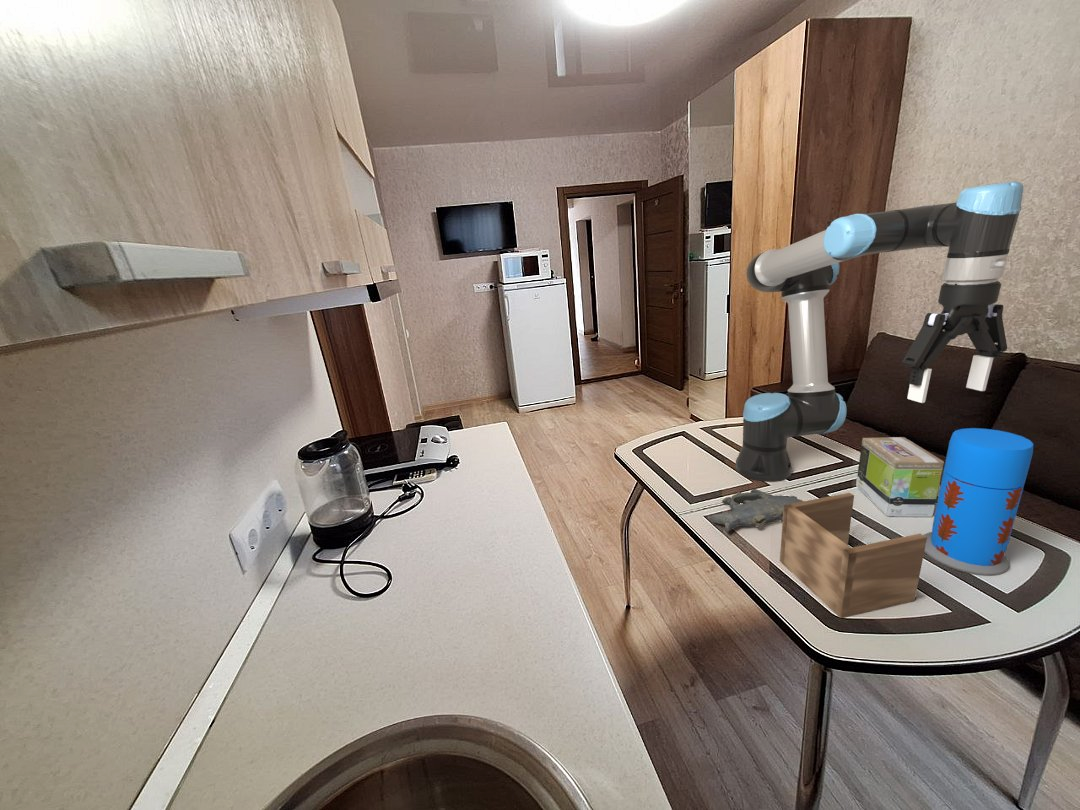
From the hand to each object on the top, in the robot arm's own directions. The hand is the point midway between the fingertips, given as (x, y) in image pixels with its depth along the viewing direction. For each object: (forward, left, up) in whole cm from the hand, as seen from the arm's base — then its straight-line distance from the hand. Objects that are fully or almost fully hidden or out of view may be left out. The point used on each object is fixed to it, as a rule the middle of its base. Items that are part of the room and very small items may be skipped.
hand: (945, 394), depth 80 cm
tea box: (-15, +9, -34) cm, 39 cm away
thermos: (+5, +5, -33) cm, 34 cm away
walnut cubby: (+5, -23, -34) cm, 41 cm away
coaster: (+5, +4, -34) cm, 35 cm away
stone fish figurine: (-21, -25, -35) cm, 47 cm away
